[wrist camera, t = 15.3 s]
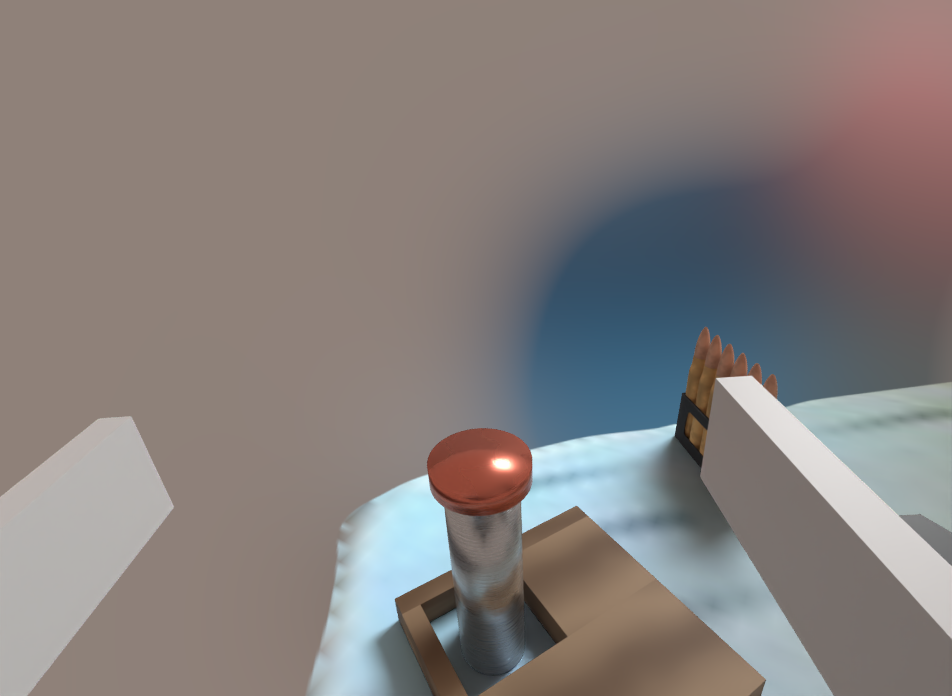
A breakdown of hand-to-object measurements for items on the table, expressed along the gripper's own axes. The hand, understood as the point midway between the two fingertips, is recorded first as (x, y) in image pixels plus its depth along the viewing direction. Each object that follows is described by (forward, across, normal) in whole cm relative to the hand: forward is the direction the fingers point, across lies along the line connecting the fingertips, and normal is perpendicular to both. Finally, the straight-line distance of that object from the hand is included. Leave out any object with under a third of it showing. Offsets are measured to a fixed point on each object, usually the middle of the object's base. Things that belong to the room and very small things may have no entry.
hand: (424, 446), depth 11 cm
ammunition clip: (+25, +20, -24) cm, 40 cm away
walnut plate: (+9, +4, -23) cm, 25 cm away
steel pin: (+10, 0, -23) cm, 25 cm away
